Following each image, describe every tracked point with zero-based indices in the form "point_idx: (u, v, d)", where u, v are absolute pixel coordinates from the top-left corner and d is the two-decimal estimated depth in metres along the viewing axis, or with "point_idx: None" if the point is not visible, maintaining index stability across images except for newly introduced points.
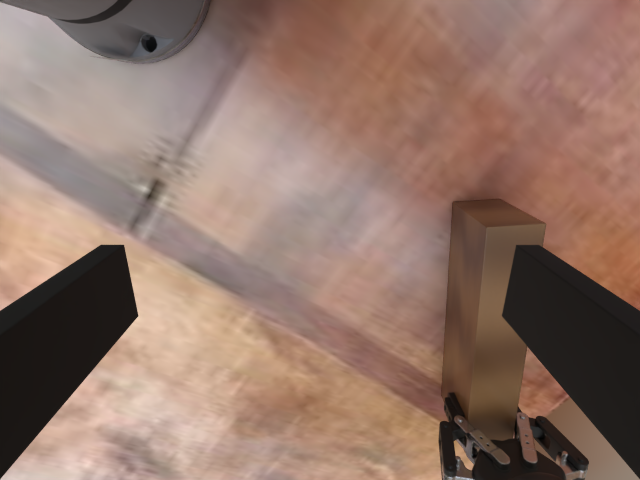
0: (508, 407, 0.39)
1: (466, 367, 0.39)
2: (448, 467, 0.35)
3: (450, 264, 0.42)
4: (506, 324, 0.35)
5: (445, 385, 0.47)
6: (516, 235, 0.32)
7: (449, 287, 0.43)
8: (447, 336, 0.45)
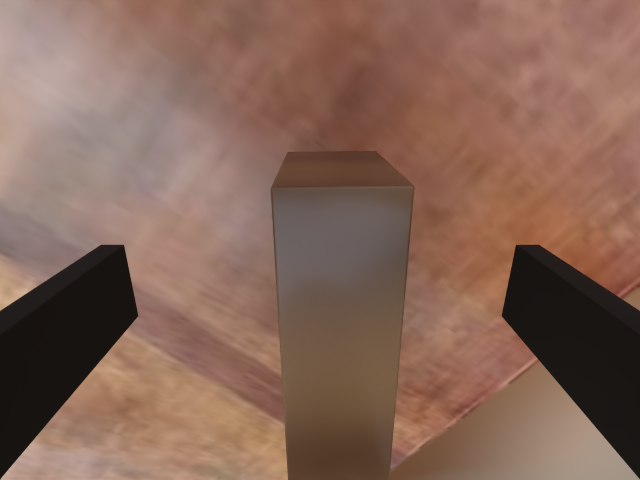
0: None
1: None
2: None
3: None
4: (344, 403, 0.17)
5: None
6: (345, 211, 0.13)
7: None
8: None
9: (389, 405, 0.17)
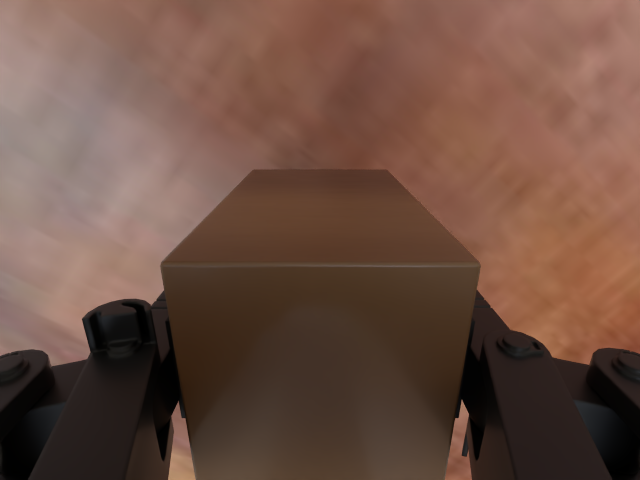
0: None
1: None
2: None
3: None
4: None
5: None
6: (325, 314, 0.06)
7: None
8: None
9: None
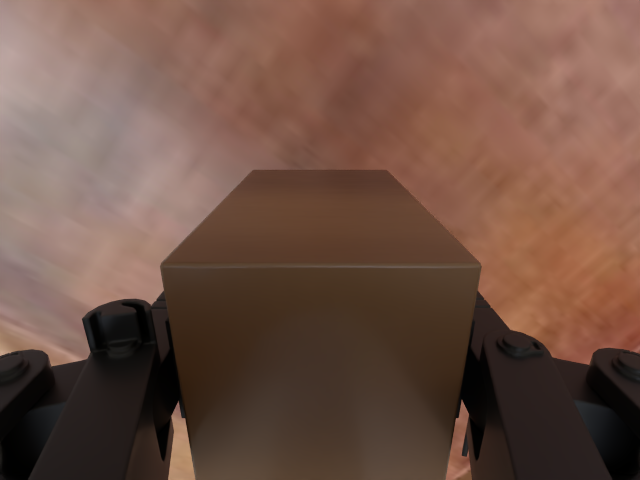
0: None
1: None
2: None
3: None
4: None
5: None
6: (326, 314, 0.06)
7: None
8: None
9: None
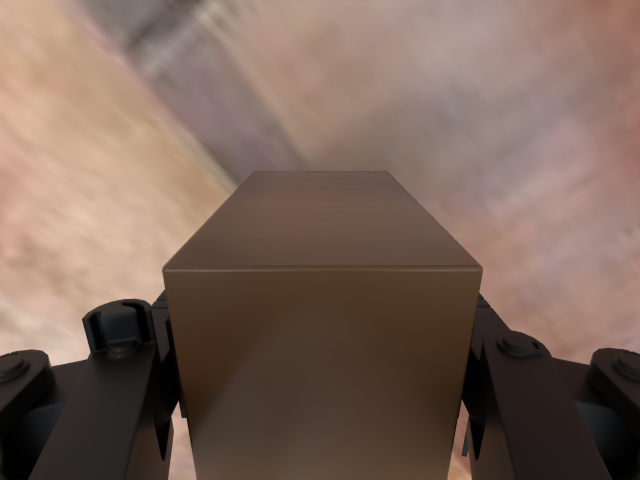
0: None
1: None
2: None
3: None
4: None
5: None
6: (328, 317, 0.06)
7: None
8: None
9: None
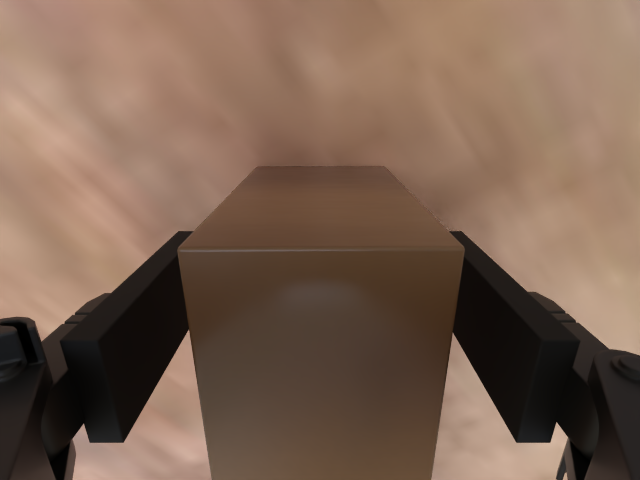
0: None
1: None
2: None
3: None
4: None
5: None
6: (326, 294, 0.07)
7: None
8: None
9: None
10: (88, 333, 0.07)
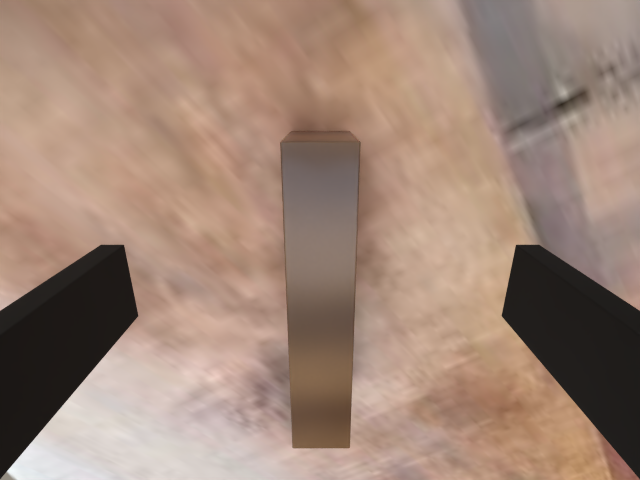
0: (339, 392, 0.31)
1: None
2: None
3: None
4: (323, 282, 0.27)
5: None
6: (321, 156, 0.24)
7: None
8: None
9: (351, 284, 0.27)
10: None
